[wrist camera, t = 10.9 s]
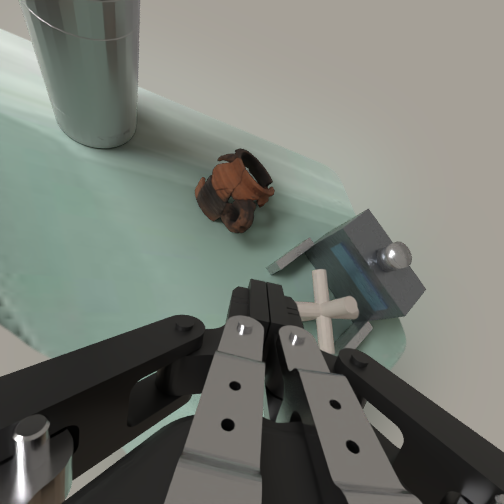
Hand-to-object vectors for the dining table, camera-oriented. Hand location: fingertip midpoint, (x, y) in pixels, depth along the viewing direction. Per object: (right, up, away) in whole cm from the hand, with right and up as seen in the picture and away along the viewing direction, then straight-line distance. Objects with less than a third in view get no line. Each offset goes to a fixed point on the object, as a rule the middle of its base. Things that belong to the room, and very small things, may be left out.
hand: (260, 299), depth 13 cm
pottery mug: (-4, +9, +27) cm, 29 cm away
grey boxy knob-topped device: (+11, -3, +28) cm, 31 cm away
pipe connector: (+6, -7, +26) cm, 27 cm away
